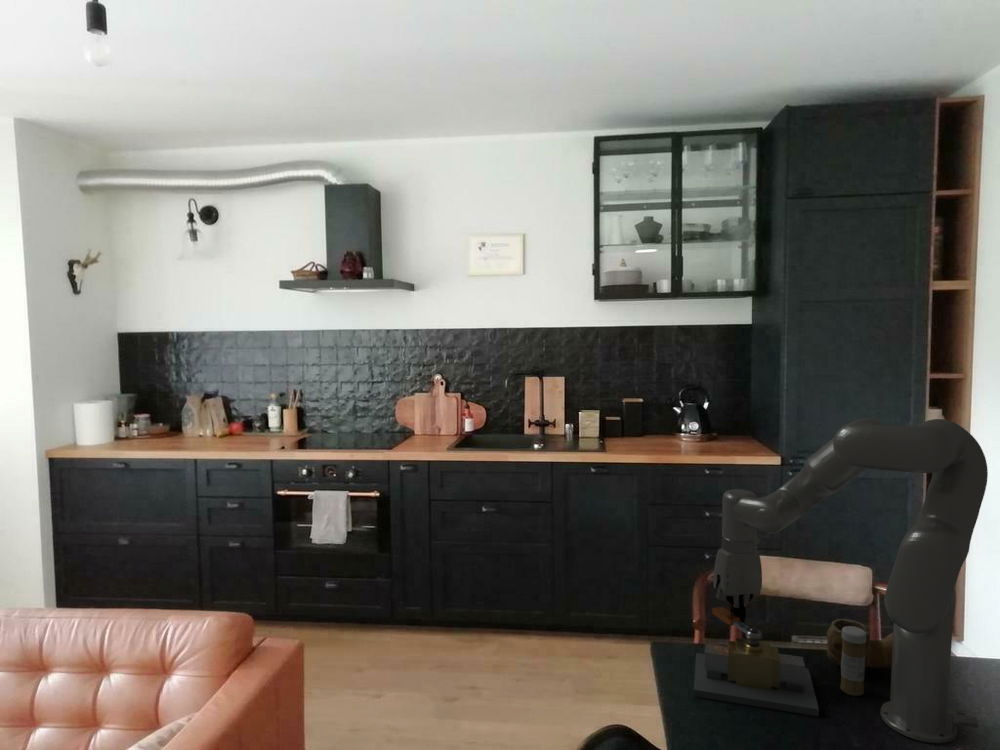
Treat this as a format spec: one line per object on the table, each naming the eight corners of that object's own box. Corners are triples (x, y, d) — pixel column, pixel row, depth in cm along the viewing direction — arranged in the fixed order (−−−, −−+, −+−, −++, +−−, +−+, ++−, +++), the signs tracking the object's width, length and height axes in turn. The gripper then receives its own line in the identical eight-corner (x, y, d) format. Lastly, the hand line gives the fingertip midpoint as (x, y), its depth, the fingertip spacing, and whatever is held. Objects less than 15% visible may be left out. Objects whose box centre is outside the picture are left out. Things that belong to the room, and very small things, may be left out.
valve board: (808, 675, 147) (808, 668, 147) (818, 716, 132) (818, 709, 132) (696, 659, 155) (696, 653, 155) (693, 696, 140) (693, 689, 140)
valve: (801, 677, 144) (802, 636, 143) (805, 695, 137) (806, 651, 136) (704, 663, 150) (705, 623, 149) (704, 679, 143) (704, 638, 142)
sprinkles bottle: (852, 683, 144) (854, 624, 143) (869, 695, 139) (871, 633, 138) (834, 686, 143) (836, 626, 142) (851, 698, 138) (853, 636, 137)
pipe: (913, 683, 144) (915, 638, 143) (834, 678, 146) (836, 634, 145) (895, 661, 153) (896, 619, 152) (820, 657, 155) (822, 616, 154)
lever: (764, 639, 142) (765, 630, 141) (752, 641, 141) (752, 633, 140) (722, 611, 155) (723, 604, 155) (711, 614, 154) (711, 606, 154)
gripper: (758, 536, 157) (757, 611, 158) (700, 542, 153) (700, 618, 155) (778, 547, 149) (776, 625, 151) (718, 553, 146) (717, 633, 148)
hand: (737, 621), depth 153 cm, fingers closed
